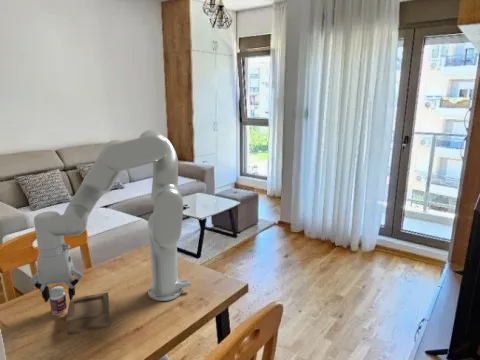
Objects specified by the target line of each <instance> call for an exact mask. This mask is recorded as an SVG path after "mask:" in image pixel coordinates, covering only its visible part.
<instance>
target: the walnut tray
mask: <svg viewBox="0 0 480 360" xmlns="http://www.w3.org/2000/svg"><path fill="white" fill-rule="evenodd" d="M66 314H67V315H66V320H65V321H66V327H67V328H66V330H67V336H68V335H74V334H78V333H83V332H88V331H92V330H98V329H102V328H103V329H104V328H108V327H110V326H111V324H110V323H111V322H110V321H111V318H110V316H111V314H110V300H109V292H108V291H107V292H102V293H97V294H91V295H85V296H84V295H83V296H80V297H73V298H72V299H69V302H68V306H67V313H66Z"/></svg>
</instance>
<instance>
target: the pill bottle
mask: <svg viewBox="0 0 480 360" xmlns="http://www.w3.org/2000/svg"><path fill="white" fill-rule="evenodd" d="M49 293H50V298H49V304H50V311H51V314H52V315H53V316H61V315H64V314H65V313H66V312H68V304H67V297H66V293H65V290H64V287H63V286H61V285H60V286H54V287H52V288H51V289H49Z"/></svg>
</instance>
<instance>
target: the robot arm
mask: <svg viewBox="0 0 480 360" xmlns="http://www.w3.org/2000/svg"><path fill="white" fill-rule="evenodd" d="M151 163H152V184H151V185H152V186H151V193H150V199H151V203H152V205H153V211H152V212H153V213H151V214H150V216H149V218H148V220H147V232H148V242H149V253H150V254H149V256H150V271H151V272H150V274H151V277H150V278H151V285H150V286H149V287H148V290H147V295H148V297H149V298H150V299H152V300H154V301H159V302H167V301H171V300H174V299H177V298H178V297H179V296H180V295H182V293H183V288H191V281H188V279H187V278H185V279H181V278H180V276H179V274H178V273H179V272H178V271H179V269H178V244H177V243H178V242H179V240H180V238H181V234H182V228H183V227H182V226H183V214H184V200H183V196H182V194H181V192H180V191H179V188H178V187H179V186H178V184H179V160H178V155H177V152H176V149H175V147H174V146H173V144H172V142H171V141H170V140H169V139H168V138H167V137H165V135H163V134H162V133H160V132H158V131H157V130H154V129H148V130H144V131H143V132H141V134H140V135H139V137H137V138H134V139H130V140H126V141H125V140H124V141H122V140H118V139H111V140H110V141H108V142H107V143H106V144H105V145H104V147H103V148H102V149H101V151H100V152H99V155H97V157H96V159H95V160H94V162H93V164H92V166H91V167H90V169H89V171H88V172H87V174H86V175H85V177H84V179H83V180H82V181H81V184H80V186H79V188H78V189H77V190H76V192H75V194H74V195H73V197H72V198H71V200H70V202H68V204H67V206H66V208H65V210H64V213H63V214H60V213H59V212H58V211H54V210H53V211H51V210H49V211H43V212H40V213H37V214H36V215H35V216H34V217H33V224H34V231H35V235H36V242H37V249H38V254H37V257H36V258H37V259H36V273H35V274H34V275H33V276H32V277H31V278H30V279H29V283H30V284H32V285H34V287H35V288H37V289H38V290H39V292H40V293H41V296H42V299H43V300H44V303H47V302H48V301H50V288H49V286H48V285H50V284H61V283H62V284H63V283H65V284H66V285H67V287H68V289H67V293H68V299H69V300H70V299H73V298H74V296H75V295H76V289H75V286H76V285H77V284H78V283H79V281H80V280H81V279H82V278H83V276H84V274H83V272H80V271H79V270H77V269H75V267H74V263H73V258H72V256H71V253H70V251H69V250H70V248H71V246H70V244H66V241H65V236H67V237H75V236H79V235H82V233H84V232H85V231H86V229H87V227H88V220H89V219H88V218H89V216H90V214H91V212H92V210H94V208H95V206H96V205H97V203H98V202H99V200H100V199H101V198H102V197H103V196H104V195H106V194H108V193H109V192H110V191H111V189H112V187H113V186H114V184H115V183H116V181H117V179H118V178H119V176H120V174H121V172H123V171H127V170H130V169H134V168H138V167H141V166H145V165H148V164H151ZM73 276H75V278H74V279H73Z"/></svg>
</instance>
